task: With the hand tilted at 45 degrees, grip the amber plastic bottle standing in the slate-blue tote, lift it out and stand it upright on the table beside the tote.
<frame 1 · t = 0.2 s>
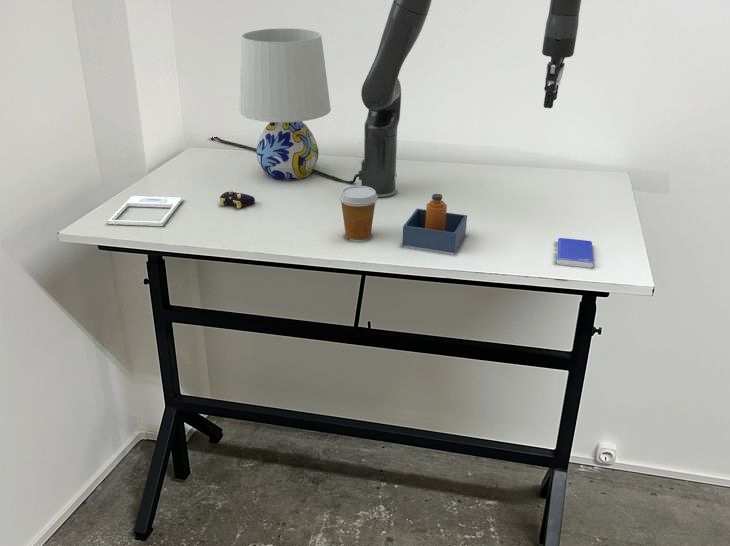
hand: (549, 103, 180), 29 cm above the table, tool pointing down, fingers open, 8 cm apart
table lamp: (288, 173, 223), on the table
blue book: (574, 255, 173), on the table
disposable coffee cup: (358, 237, 182), on the table
bottle: (434, 239, 179), point 1 cm above the table, touching tote
photo frame: (146, 212, 195), on the table
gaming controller: (235, 204, 201), on the table
tote: (434, 241, 180), on the table
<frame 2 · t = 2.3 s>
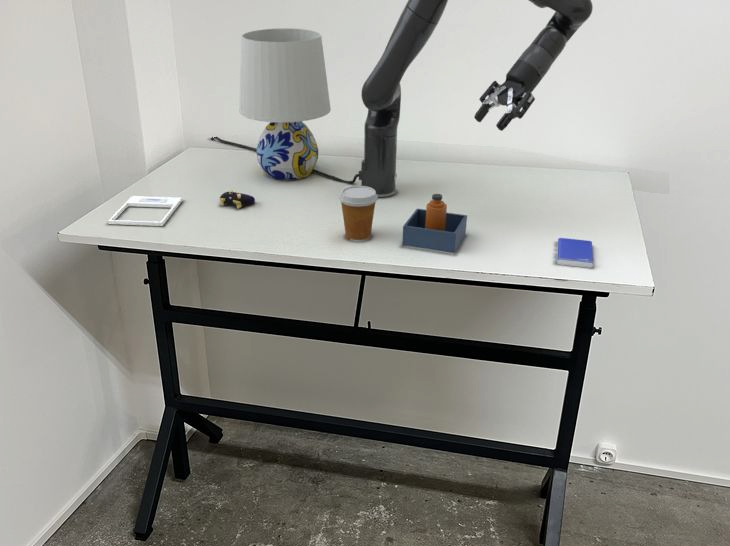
hand: (487, 124, 173), 27 cm above the table, tool tilted 45°, fingers open, 8 cm apart
nothing on the table moved.
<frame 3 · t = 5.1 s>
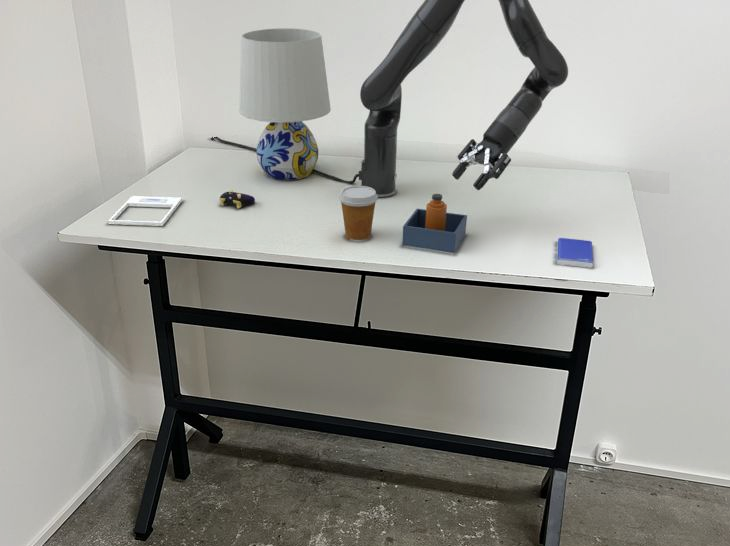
hand: (465, 182, 175), 14 cm above the table, tool tilted 45°, fingers open, 8 cm apart
nothing on the table moved.
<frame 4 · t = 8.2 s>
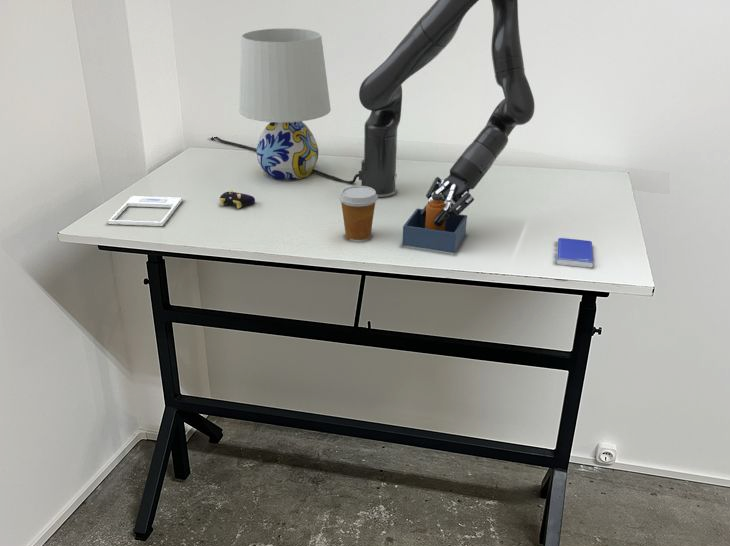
hand: (429, 220, 176), 6 cm above the table, tool tilted 45°, fingers closed on bottle, 5 cm apart
bottle: (434, 239, 179), point 1 cm above the table, touching gripper, tote
everything else where it was.
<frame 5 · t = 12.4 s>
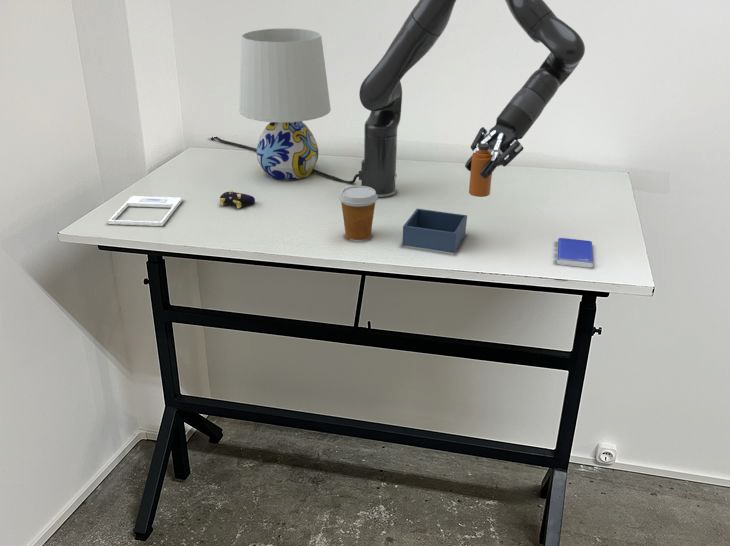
hand: (475, 172, 166), 19 cm above the table, tool tilted 45°, fingers closed on bottle, 5 cm apart
bottle: (479, 193, 170), point 14 cm above the table, touching gripper
everything else where it was.
when the fingers open (5 cm above the table, at t = 16.9 s): bottle stays where it is, on the table.
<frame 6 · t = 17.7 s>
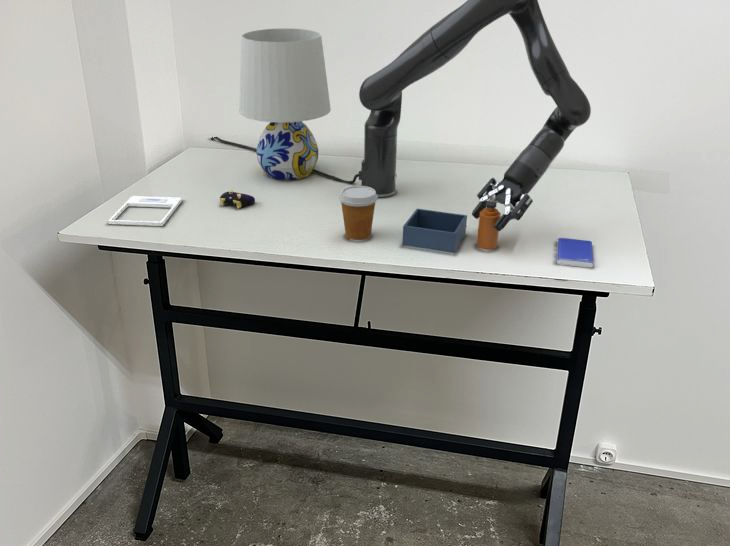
hand: (485, 222, 172), 7 cm above the table, tool tilted 45°, fingers open, 8 cm apart
bottle: (486, 247, 177), on the table
everything else where it was.
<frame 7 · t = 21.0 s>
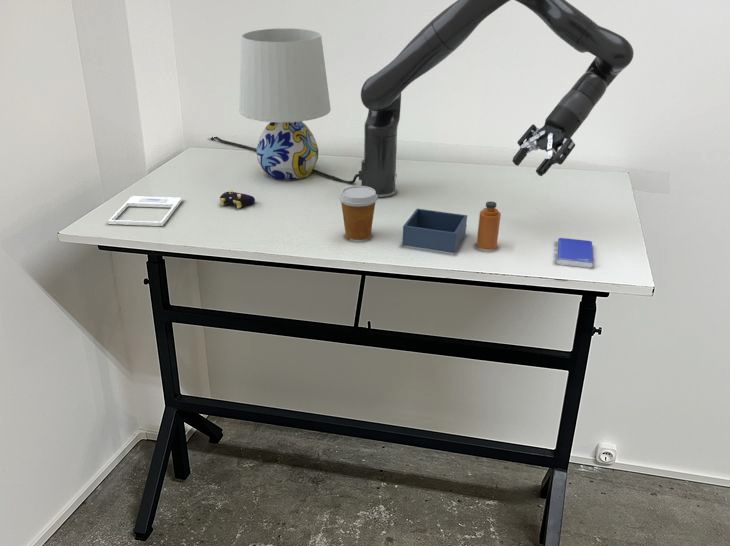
hand: (526, 168, 172), 18 cm above the table, tool tilted 45°, fingers open, 8 cm apart
nothing on the table moved.
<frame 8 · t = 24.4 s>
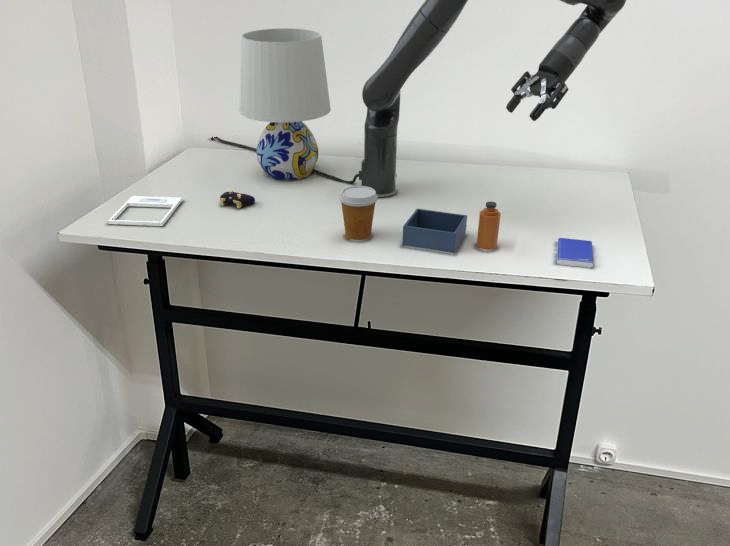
hand: (520, 114, 173), 29 cm above the table, tool tilted 45°, fingers open, 8 cm apart
nothing on the table moved.
at the end: bottle inside the target area (0.1 cm from its centre), on the table; bottle tilted 0°; bottle touching table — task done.
